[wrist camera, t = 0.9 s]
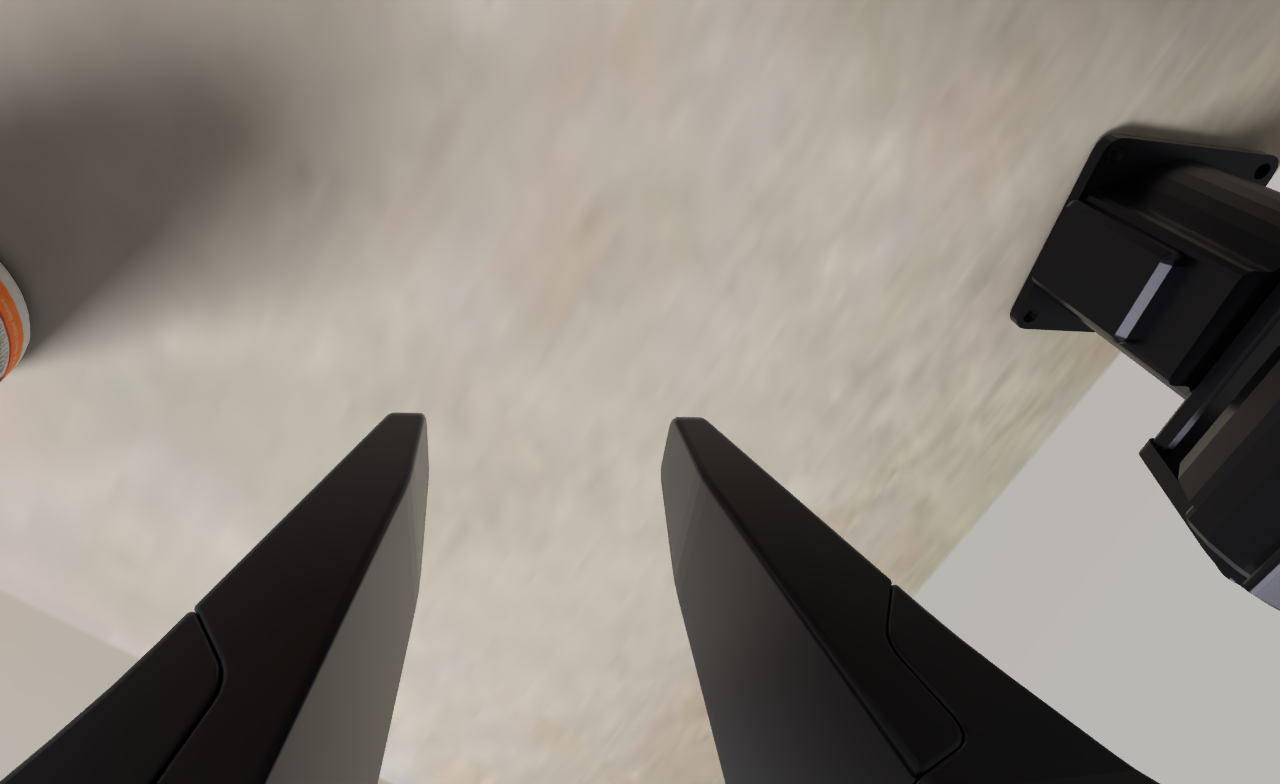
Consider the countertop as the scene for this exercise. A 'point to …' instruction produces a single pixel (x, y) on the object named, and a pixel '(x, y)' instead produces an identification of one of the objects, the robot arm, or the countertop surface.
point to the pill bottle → (12, 324)
